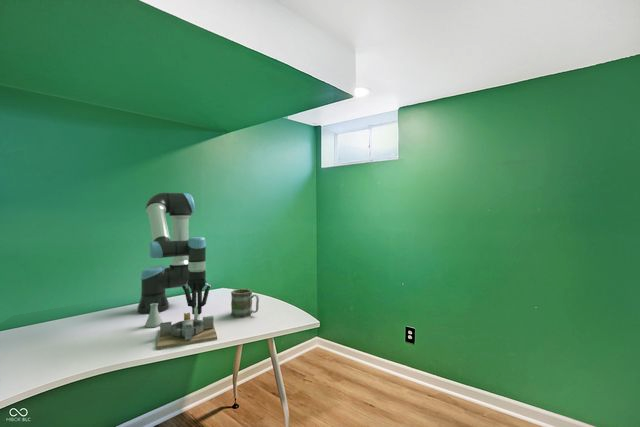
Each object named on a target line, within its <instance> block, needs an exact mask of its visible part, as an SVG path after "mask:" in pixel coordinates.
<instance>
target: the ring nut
mask: <svg viewBox="0 0 640 427" xmlns="http://www.w3.org/2000/svg"><path fill="white" fill-rule="evenodd" d="M214 318H215V317H214V315H209V316H203V317H202V319H200V320H196V319H194V318H193V319H191V313H190V312H186V313H183V320H181V321H177V322H175V323H173V324H172V321H167V322H163V323H160V326H159V332H160V336H163V335H169V334H171V336H177V337H181V336H182V337H185V340H190V339H192V335H194V334H195V335H196V334H198V333H200V332H202V331H204V329H208V328H213V325H214ZM184 320H193V328H192V326H191V325H185V329H181V328H182V321H184Z"/></svg>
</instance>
